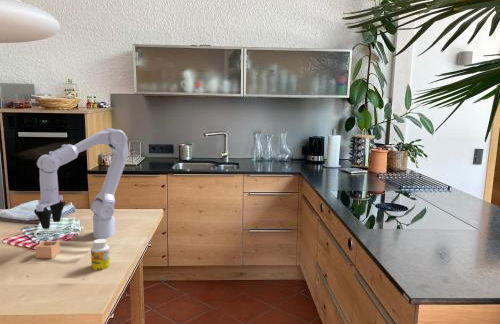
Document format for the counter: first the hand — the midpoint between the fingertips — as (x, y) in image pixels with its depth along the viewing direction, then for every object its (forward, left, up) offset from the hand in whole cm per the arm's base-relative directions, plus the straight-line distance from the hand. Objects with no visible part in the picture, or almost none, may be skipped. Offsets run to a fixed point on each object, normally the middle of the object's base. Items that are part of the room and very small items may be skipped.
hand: (51, 225), depth 141 cm
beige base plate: (+5, +7, -9) cm, 13 cm away
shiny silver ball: (+9, +3, -9) cm, 13 cm away
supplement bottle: (+16, +24, -10) cm, 30 cm away
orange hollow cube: (+9, +3, -8) cm, 12 cm away
